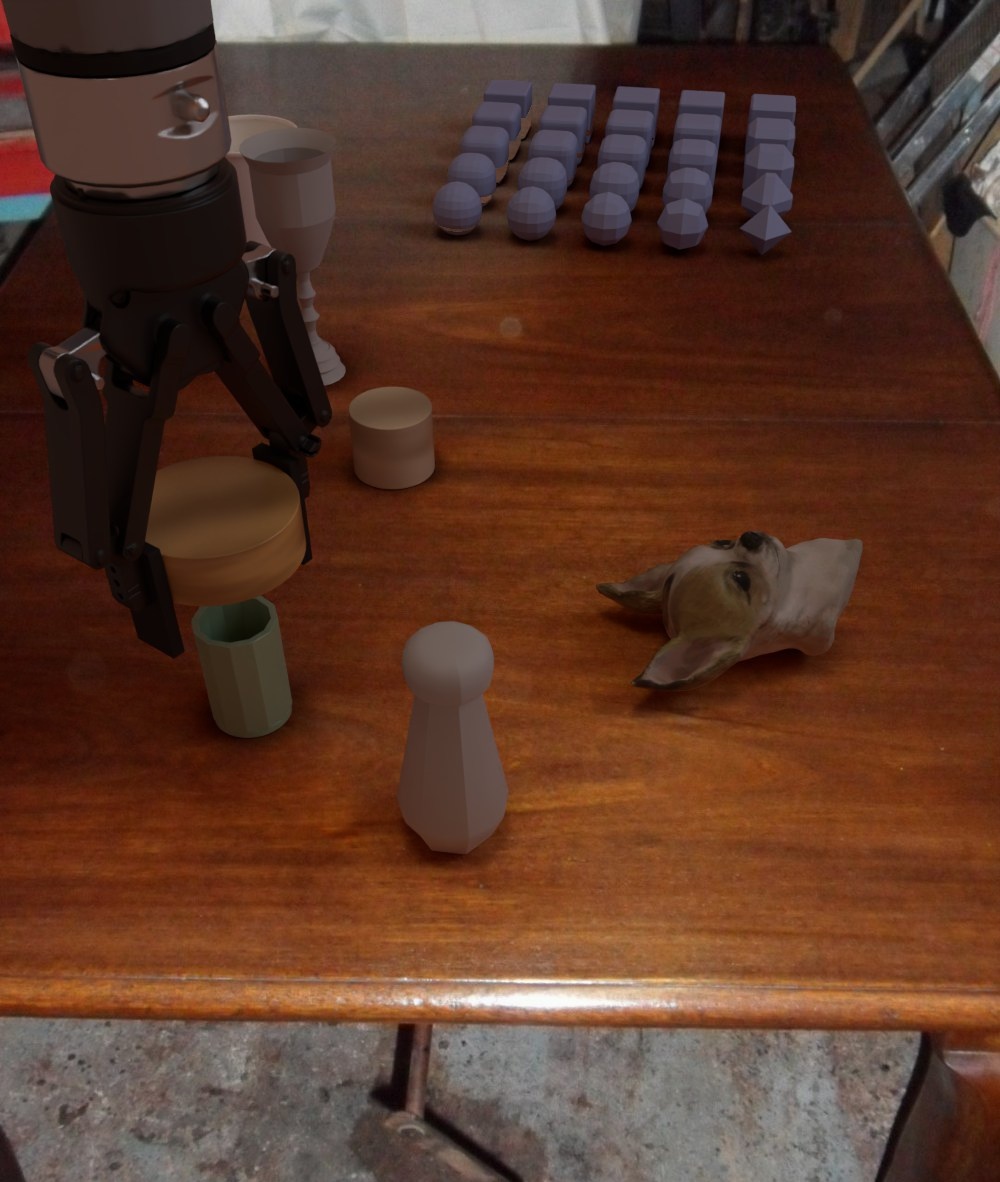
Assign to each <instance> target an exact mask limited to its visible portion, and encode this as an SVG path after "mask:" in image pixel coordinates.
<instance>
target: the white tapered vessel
mask: <svg viewBox="0 0 1000 1182" xmlns="http://www.w3.org/2000/svg"><path fill="white" fill-rule="evenodd" d="M228 120H229V127H230V134H231V140H232V142H231V147H230V151H229V152H228V153H227V154H226V156H225V157H226V158H227V160H228V161H229V162H230V163H231V164H233V166H234V167H235V169H236V172H237V177H238V184H239V190H240V197H241V204H242V211H243V218H244V224H245V231H246V238H247V242H248V241H255V242H258V243H261V244H263V245H266V246H269V247H271V246H270V244H269V243H268V241H267V239H266V237H265V235H264V233H263V231H262V229H261V227H260V225H259V223H258V221H257V219H256V214H255V207H254V200H253V193H252V186H251V179H250V172H249V165H248V164H247V162H246V161H245V159H244V158H243V156H242V155H241V153H240V151H239V146H240V144H241V143H242V142H243V141H244V140H246V139H248V138H249V137H251V136H253V135H256V134H259V133H262V132H265V131H271V130H276V129H284V128H299V127H298V126H297V124H295V123H294V122H293V121H291V120H288V119H286V118H283V117H279V116H276V115H275V116H274V115H268V114H235V115H228Z"/></svg>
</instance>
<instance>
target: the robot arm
mask: <svg viewBox="0 0 1000 1182" xmlns="http://www.w3.org/2000/svg"><path fill="white" fill-rule="evenodd" d="M0 1H1V5H2V8H3V12H4V16H5V19H6V22H7V27H8V30H9V37H10V40H11V45H12V48H13V51H14V54H15V60H16V63H17V66H18V71H19V72H18V73H19V75H20V76H19V77H20V79H21V84H22V88H23V92H24V96H25V101H26V104H27V109H28V114H29V118H30V121H31V126H32V129H33V133H34V138H35V142H36V146H37V151H38V154H39V160H40V161H41V162H42V164H43V165H44V167H45V168H46V169H47V170H48V171H50V172H51V173H53V174H54V176H53V178H52V180H51V182H50V184H49V193H50V197H51V201H52V204H53V209H54V212H55V216H56V220H57V224H58V228H59V232H60V235H61V239H62V244H63V247H64V251H65V255H66V258H67V262H68V264H69V267H70V269H71V270H72V272H73V274H74V276H75V277H76V280H77V282H78V284H79V286H80V289H81V290H82V294H83V310H82V315H81V329H80V330H79V331H77V332H75V333H74V334H73V335H71V336H70V337H68V338H67V339H65V340H64V341H62V342H60V343H59V344H57V345H56V346H54V345H51V344H49V343H46V342H44V341H37V342H34V343H33V344H32V345H31V346H30V347H29V349H28V352H27V355H26V357H27V358H26V359H27V363H28V366H29V368H30V370H31V373H32V375H33V377H34V379H35V382H36V384H37V386H38V389H39V391H40V393H41V397H42V402H43V413H44V423H45V424H44V425H45V437H46V438H45V439H46V449H47V461H48V464H47V465H48V474H49V489H50V499H51V511H52V512H51V513H52V522H53V524H52V526H53V536H54V544H55V547H56V548H57V550H58V551H60V552H62V553H64V554H66V555H68V556H69V557H72V558H73V559H75V560H77V561H79V562H81V563H82V564H84V565H86V566H88V567H90V568H92V569H93V570H97V571H98V570H99V571H100V570H102V569H104V571H105V575H106V576H105V577H106V578H107V583H108V585H109V587H110V588H109V589H110V593H111V596H112V598H113V599H114V600H115V601H116V602H117V603H119V605H122V606H124V607H126V608H127V609H129V611H130V615H131V619H132V623H133V626H134V629H135V633H136V637H137V639H138V640H139V641H142V642H143V643H145V644H147V645H148V646H150V647H152V648H154V649H156V650H157V651H158V652H161V653H163V654H164V655H166V656H168V657H170V658H171V659H173V660H175V659H177V658H178V657H179V656H180V655H182V654H184V652H186V650H185V646H184V642H183V638H182V634H181V629H180V625H179V622H178V617H177V613H176V609H175V605H174V603H173V600H172V596H171V592H170V588H169V584H168V580H167V576H166V572H165V568H164V564H163V560H162V555H161V551H160V549H159V548H157V547H155V546H153V545H151V544H149V543H148V542H146V541H145V538H146V532H147V526H148V520H149V514H150V508H151V502H152V496H153V490H154V484H155V478H156V472H157V470H158V465H159V459H160V452H161V446H162V442H163V441H162V440H163V435H164V430H165V424H166V421H167V420H170V419H172V418H173V416H175V415H174V414H175V413H176V407H177V400H178V395H179V392H180V391H182V390H183V389H185V388H186V387H187V386H189V385H190V384H191V383H192V382H193V381H194V380H195V379H196V378H197V377H198V376H202V375H208V374H211V373H215V374H216V376H217V377H218V378H219V380H220V381H221V382H222V384H223V385H224V386H225V387H226V389H227V390H228V391H229V393H230V394H231V395H232V397H233V398H234V399H235V401H236V403H237V404H238V405H239V407H240V408H241V409H242V410H243V412H244V413H245V415H246V416H247V417H248V418H249V420H250V421H251V422H252V424H253V425H254V426H255V428H256V429H257V431H258V432H259V434H260V435H261V436H262V437H263V438H264V439H266V440H268V443H269V444H267V443H265V442H260V443H258V444H257V445H255V446H253V447H252V448H251V453H252V459H256V460H260V461H263V462H266V463H268V464H271V465H273V466H275V467H277V468H279V469H280V470H282V471H283V472H285V473H286V474H287V475H288V476H289V477H290V478H291V479H292V480H293V482H294V483H295V484H296V486H297V489H298V491H299V496H300V502H301V510H302V517H303V524H304V532H305V539H306V551H305V555H304V558H303V560H302V562H301V564H300V565H301V566H306V564H308V563H309V562H311V561H312V560H313V559H314V558H313V551H312V544H311V536H310V535H311V534H310V529H309V521H308V514H307V506H306V499H307V498H309V497H310V493H311V492H310V491H311V481H310V473H309V467H308V465H309V464H308V459H307V458H309V459H313V458H315V457H317V455H318V454H320V453H319V452H320V451H321V447H322V439H321V437H319V436H317V435H315V434H313V432H314V430H315V429H316V428H317V427H319V428H325V427H327V426H328V425H329V424H330V423H331V420H332V418H333V417H332V416H333V408H332V406H331V403H330V399H329V397H328V393H327V390H326V386H324V383H323V380H322V377H321V374H320V371H319V367H318V364H317V361H316V358H315V355H314V352H313V348H312V345H311V342H310V339H309V336H308V332H307V329H306V326H305V323H304V320H303V317H302V313H301V307H300V304H299V300H298V298H297V291H298V285H297V274H296V262H295V258H294V257H293V255H291V254H289V253H287V252H284V251H281V250H278V249H275V248H272V247H269V246H266V245H263V244H261V243H258V242H255V241H248V242H247V238H246V231H245V224H244V218H243V211H242V204H241V197H240V190H239V184H238V177H237V172H236V169H235V167H234V166H233V164H231V163H230V162H229V161H228V160H227V158H226V157H225V156H226V154H227V153H228V152H229V151H230V147H231V142H232V140H231V134H230V127H229V120H228V116H229V115H228V114H229V113H228V108H227V100H226V94H225V87H224V81H223V74H222V67H221V60H220V53H219V46H218V41H217V37H216V31H215V24H214V15H213V14H214V13H213V7H212V0H0ZM244 303H245V304H246V308H247V311H248V313H249V316H250V318H251V321H252V325H253V328H254V330H255V333H256V335H257V338H258V342H259V344H260V347H261V349H262V352H263V355H264V358H265V360H266V363H267V366H268V369H269V371H270V373H269V372H268V371H267V369H266V367H265V366H264V365H263V363H262V361H261V360H260V357H261V352H260V351H259V349H258V347H257V346H256V344H255V343H254V341H253V340H252V339H251V337H250V336H249V334H248V333H247V331H246V330H245V328H244V327H243V325H242V324H241V318H240V316H241V313H242V309H243V305H244ZM103 358H105V366H104V374H103V376H101V373H100V365H101V361H102V360H103ZM270 374H271V375H270ZM134 382H137V383H139V384H141V385H143V386H145V387H148V388H149V389H148V392H147V391H145V390H143V389H141V388H138V387H137V386H135V384H134ZM100 391H102V395H103V397H104V399H105V401H106V403H107V408H106V414H105V413H104V406H103V401H102V399H101V395H100Z"/></svg>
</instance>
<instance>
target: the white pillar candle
mask: <svg viewBox="0 0 1000 1182" xmlns="http://www.w3.org/2000/svg"><path fill="white" fill-rule="evenodd" d="M433 419H434V417H433V404H432V401H431V400H430V398H429V397H428V396H427V395H426V394H424V393H423V392H421V391H419V390H417V389H413V388H409V387H404V386H382V387H376V388H372V389H369V390H366V391H364V392H361V393H360V394H358V395H357V396H355V397H354V398H353V399H352V400H351V402H350V403H349V405H348V421H349V430H350V431H349V432H350V439H351V440H350V441H351V450H352V461H353V470H354V473H355V476H356V477H357V478H358V479H359V480H360V481H361V482H362V483H364V484H365V485H367V486H370V487H373V488H376V489H382V490H403V489H409V488H412V487H415V486H417V485H418V486H419V485H420V484H422V483H424V482H425V481H426V480H428V479H429V478H431V476H432V474H433V473H434V471H435V469H436V460H435V459H436V458H435V439H434V438H435V436H434V420H433Z"/></svg>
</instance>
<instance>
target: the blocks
mask: <svg viewBox="0 0 1000 1182" xmlns="http://www.w3.org/2000/svg"><path fill="white" fill-rule="evenodd" d="M596 88H597V86H596V85H595V84H586V83H585V84H584V83H568V82H567V83H566V82H565V83H564V82H554V83H553V85H552V87H551V89H550V91H549V93H548V95H547V106H545V107H544V109H543V110H542V112H541V115H540V117H539V118H538V119H539V120H538V128H537V130H538V131H537V132H535V133H534V135H533V136H532V139H531V140H530V144H529V145H528V149H527V150H528V151H527V152H528V154H527V156H528V157H527V162H525V163H524V165H523V166H522V167H521V168H520V171H519V174H518V179H517V191H516V192H515V193H513V195H512V196H511V198H510V199H509V201H508V203H507V206H506V220H507V225H508V227H509V229H510V230H511V232H512V234H514V235H515V236H516V237H518V238H519V239H521V240H524V241H525V240H526V241H529V242H530V241H531V242H532V241H537V240H540V239H542V238H543V237H546V236H547V235H548V234H549V233H550V232H551V230H552V229H553V227H554V225H555V222H556V217H557V212H556V211H557V210H558V209H559V208H560V207H561V206H562V205H563V203H564V202H565V199H566V196H567V191H568V187H570V186H571V185H572V183H573V182H574V179H575V176H576V174H577V170H576V169H578V165H579V164H581V162H582V160H583V157H584V155H585V152H586V147H587V144H589V143H590V141H591V138H592V135H593V133H594V129H595V123H594V124H593V126H592V129H591V132H590V135H589V136H586V130H590V128H591V124H592V121H593V118H594V119H595V112H596V111H595V110H596V92H597V91H596V90H597V89H596ZM660 98H661V89H660V88H656V87H655V88H653V87H638V86H636V87H635V86H621V85H619V86H617V88H616V91H615V94H614V97H613V100H612V111H610V113H609V114H608V115H609V116H608V118H607V121H606V125H605V131H604V132H605V133H604V134H605V135H604V138H603V139H602V140H601V144H600V147H599V150H598V153H597V166H596V167H597V168H596V170H595V171H594V172H593V175H592V178H591V180H590V184H589V200H588V201H587V202H586V203H585V204H584V208H583V210H582V213H581V215H580V220H581V224H582V229H583V232H584V234H585V236H586V237H587V238H588V239H589V240H590V241H591V243H594V244H597V245H600V246H602V247H606V246H610V245H615V244H617V243H618V242H619V241H621V240H622V238H624V237H625V236H626V235H627V234H628V233H629V230H630V227H631V223H632V220H633V219H632V216H631V215H632V214H631V212H633V210H634V209H636V205H637V202H638V200H639V195H640V189H641V188H642V187H643V183H644V180H645V176H646V170H647V169H646V168H647V167H648V166H649V162H650V158H651V154H652V148H653V147H654V144H655V140H656V136H657V131H658V119H659V109H660ZM725 99H726V93H725V92H724V91H709V90H690V89H682V90H681V93H680V98H679V102H678V109H677V110H678V111H677V118H676V120H675V125H674V129H673V138H672V147H671V148H670V152H669V156H668V164H667V174H666V181H665V183H664V186H663V189H662V197H661V201H662V205H663V207H664V208H663V210H662V212H661V213H660V216H659V218H658V220H657V222H656V224H657V227H658V230H659V234H660V236H661V239H662V242H663V243H664V244H665V245H667V246H669V247H672V248H675V249H677V250H684V249H688V248H692V247H695V246H698V245H699V244H700V242H701V241H702V238H703V237H704V235H705V233H706V232H707V229H708V228H709V223H708V220H707V217H706V214H707V212H708V211H709V209H710V207H711V205H712V200H713V195H714V194H713V193H714V186H715V178H716V170H717V164H718V155H719V149H720V142H721V141H720V140H721V134H722V133H721V131H722V125H723V117H724V116H723V115H724V110H725V109H724V108H725V107H724V106H725ZM531 105H532V106H533V82H532V81H531V80H530V81H529V80H528V81H527V80H511V79H494V78H493V79H490V81H489V83H488V85H487V86H486V88H485V90H484V92H483V101H481V102H480V103H478V106H477V108H476V109H475V111H474V112H473V114H472V117H471V126H470V127H468V128H467V129H466V131H464V134H463V136H462V138H461V139H460V141H459V154H457V156H455V158H454V159H453V160H452V161H451V162H450V164H449V166H448V169H447V175H446V184H444V185H443V186H442V187H440V189H438V190H437V191H436V193H435V196H434V198H433V204H432V215H433V219H434V221H435V223H436V222H437V223H436V224H437V225H438V224H439V225H440V226H442V227H446V228H450V229H466V228H470V227H473V226H475V225H476V224H477V223H478V224H479V222H480V220H481V219H482V212H483V208H484V207H485V206H487V204H489V203H490V202H491V201H492V199H491V200H490V201H488V202H486V203H481V199H480V198H481V197H487V196H489V195H492V194H493V193H494V191H495V192H496V189H497V184H496V170H495V168H500V167H503V166H504V165H505V164H506V162H507V160H508V157H509V141H515V140H516V138H517V136H518V134H519V132H520V130H521V118H526V116H527V114H528V112H529V110H530V107H531ZM796 112H797V98H796V97H795V95H784V94H783V95H781V94H766V93H765V94H763V93H753V94H752V95H751V98H750V105H749V113H748V120H747V128H746V134H745V146H744V159H743V160H744V161H743V176H742V187H741V188H742V190H743V191H742V196H741V202H740V206H741V207H742V208H743V210H744V211H745V212H746V214H747V215H748V216H749V217H750V219H749V220H748V221H747V222H745V223H744V224H743V225H741V227H739V229H740V231H741V232H742V233H743V235H745V237H746V238H747V239H748V240H749V242H750V243H751V245H753V247H754V248H755V249H756V250H757V252H758V253H759V254H760V256H763V255H764V254H766V253H767V252H768V251H770V249H772V248H773V247H775V246H776V245H777V244H778V243H780V242H781V241H783V239H785V238H786V237H787V236H789V235H790V234H791V233H792V232H793V231H792V230H791V229H790V228H789V226H788V225H787V224H786V222H785V221H784V220H783V219H782V217H783V216H784V215H786V214H787V213H788V212H790V210H791V209H792V206H793V200H794V195H793V193H792V192H791V188H792V183H793V176H794V169H795V157H794V156H793V152H794V148H795V141H796V126H795V120H796V114H797V113H796ZM656 127H657V128H656ZM655 131H656V132H655ZM652 138H654V139H653V140H652ZM585 141H586V146H585V149H584V152H583V155H582V157H581V158H577V153H578V154H579V153H582V151H583V148H584V144H585ZM575 172H576V173H575ZM574 175H575V176H574ZM573 178H574V179H573ZM571 179H573V180H572V181H571V182H568V183H567V181H568V180H571ZM497 183H498V184H500V183H501V182H497ZM495 188H496V189H495ZM494 194H495V193H494ZM478 224H477V225H478ZM440 229H441V230H442V231H443V232H445V233H447V234H448V235H453V236H464V235H467V234H469V233H470V232H472V231H473V230H474V229H475V228H473V229H471V230H468V231H462V232H453V231H447V230H444V229H442V228H440Z"/></svg>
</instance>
